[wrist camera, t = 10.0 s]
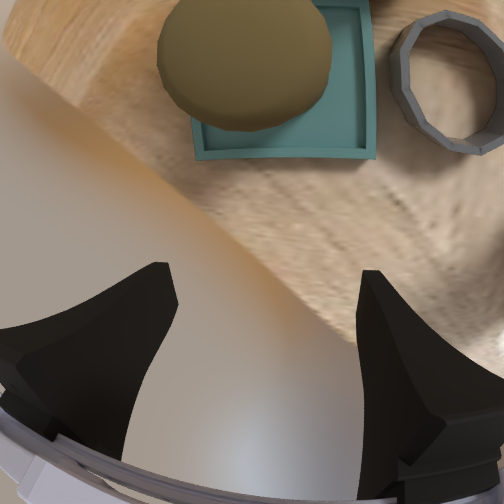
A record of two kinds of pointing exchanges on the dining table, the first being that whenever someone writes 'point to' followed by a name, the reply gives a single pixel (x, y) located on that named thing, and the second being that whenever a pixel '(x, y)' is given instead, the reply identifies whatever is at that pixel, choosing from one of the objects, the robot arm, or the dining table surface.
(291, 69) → the cork
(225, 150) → the tray
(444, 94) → the dining table surface
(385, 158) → the dining table surface
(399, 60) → the ring
